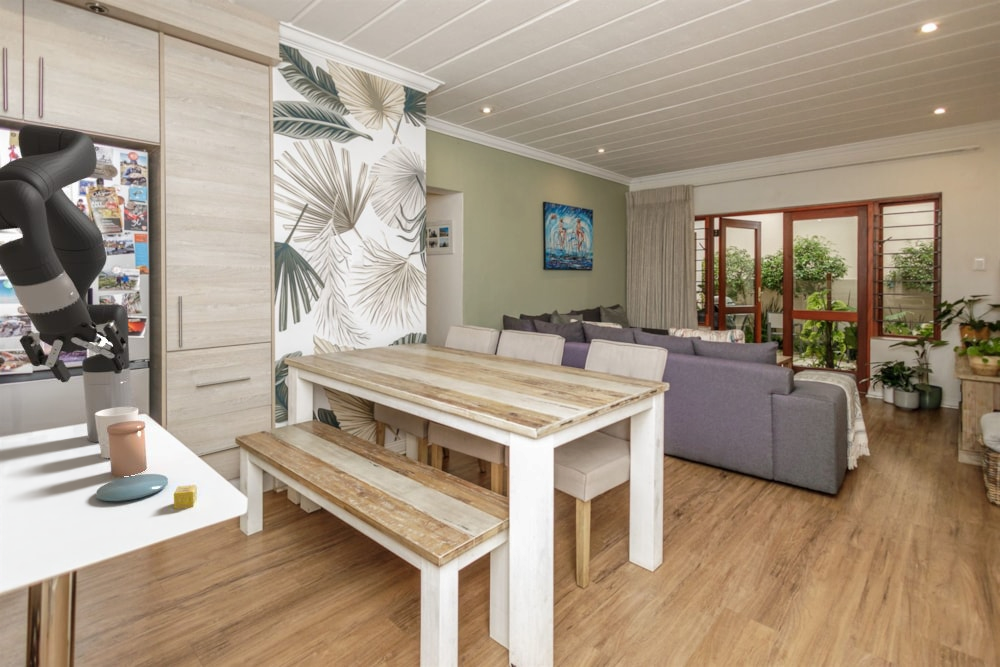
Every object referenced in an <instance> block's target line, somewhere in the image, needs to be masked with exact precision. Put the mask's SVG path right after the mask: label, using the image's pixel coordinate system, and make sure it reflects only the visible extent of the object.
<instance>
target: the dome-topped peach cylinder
mask: <svg viewBox="0 0 1000 667" xmlns="http://www.w3.org/2000/svg"><path fill="white" fill-rule="evenodd" d="M145 429H146V422H145V421H142V420H138V421H127V422H120V423H116V424H112V425H110V426H108V427H107V433H108V436H109V450H110V459H109V462H110V474H111V475H112V476H115V477H114V478H117V477H122V478H125V477H124V476H131V475H135V474H138V473H141V472H143V471H145V470H146V469H147V470H148V466H147V453H146V452H147V451H146V450H147V448H146V434H145V433H146V432H145ZM147 470H146V471H147ZM146 471H145V472H146ZM143 473H144V472H143ZM141 474H142V473H141ZM138 475H139V474H138ZM112 476H111V477H112Z"/></svg>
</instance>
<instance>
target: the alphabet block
mask: <svg viewBox="0 0 1000 667" xmlns="http://www.w3.org/2000/svg"><path fill="white" fill-rule="evenodd" d="M197 488H198V487H197V484H190V485H179V486H177V487H176V490H175V491H174V493H173V508H174V509H175V510H176V509H177V508H179V509H185V507H188V508H193V507H194V506H195V504H196V502H197V499H198V493H197V492H198V490H197ZM183 507H184V508H183ZM177 510H178V509H177Z"/></svg>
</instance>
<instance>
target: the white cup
mask: <svg viewBox="0 0 1000 667" xmlns="http://www.w3.org/2000/svg"><path fill="white" fill-rule="evenodd" d="M95 420H96V428H97V434H98V440H99V442H98V445H99V448H100V455H101V458H103V459H106V458H107V459H108V458H110V450H109V436H108V433H107V427H108V426H110V425H112V424H116V423H120V422H127V421H139V408H138V407H135V406H132V407H117V408H110V409H105V410H101V411H98V412H96V413H95Z"/></svg>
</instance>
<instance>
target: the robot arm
mask: <svg viewBox="0 0 1000 667" xmlns="http://www.w3.org/2000/svg"><path fill="white" fill-rule="evenodd" d="M17 138H18V147H19V152H20V155H21V157H19V158H16V159H14V160H11V161H9V162H8V163H5V164H4V165H3V166H2V167H0V231H2V230H12V229H13V230H14V229H19V230H20V231H21V234H22V236H21V237H20V238H17V239H14V240H10V241H7V242H5V243H3V244H1V245H0V267H1V270H3V273H4V274H5V276H6V278H7V279H8V281H9V282H10V284H11V286H12V288H13V290H14V291H13V292H14V293H15V296H16V298H17V299H18V301H19V302H18V303H19V304H20V306H22V308H23V309H24V311H25V313H26V315H27V316H28V318H29V320H30V321H31V323H32V325H33V326H34V328H35V329H36V331H37V332H34V331H32V330H26V332H25V333H23V335H22V336H21V337H20V339H19V342H20V343H19V344H20V345H21V346H22V349H23V350H24V352H25V353H26V356H27V357H28V360H29V361H30V363H31V365H32V367H33V366H34V367H39V366H45V367H46V368H47V367H48V368H49V369H50V371H51V372H52V374H53V376H54V377H55V379H57V380H58V381H60V382H62V383H67V382H69V380H70V379H71V376H72V374H71V372H70V371H69V369H68V367H67V366H66V364H65V362H64V361H63V359H60V357H61V355H62V352H63V353H66V354H72V353H74V352H86V351H88V350H89V351H91V352H93V353H95V355H91V356H89V357H86V358H83V360H82V362H81V364H82V367H81V368H82V380H83V389H84V390H83V393H84V402H85V415H86V428H87V439H88V441H90V442H94V443H95V442H97V443H99V440H98V434H97V428H96V420H95V413H96V412H98V411H101V410H105V409H110V408H117V407H133V398H132V396H133V395H132V381H131V367H130V352H129V350H130V349H129V314H128V311H127V309H126V307H125V306H124V305H122V304H111V303H110V304H106V303H105V304H104V303H103V304H99V303H98V304H89V303H88V302H87V300H86V297H87V294H88V292H89V290H90V287H91V286H92V285H93V283H94V282H95V280H97V278H98V276H99V275H100V274H101V272H102V271H103V269H104V267H105V265H106V262H107V258H108V257H107V252H106V251H107V250H106V247H105V242H104V238H103V235H102V232H101V230H100V228H99V227H98V226H97V224H96V223H95V222H94V221H93V220H92V219H91V218H90V217H89V216H88V215H87V214H86V213H85V212H84V211H83V210H81V208H79V206H78V205H76V204H75V203H74V202H73V201H72V200H71V199H70V198H69V197H68V195H67V194H66V192H65V191H64V190H63V188H66V187H68V186H70V185H73V184H74V183H78V182H79V181H82V180H85V179H87V178H89V177H92V175H94V174H93V173H94V172H96V171H95V170H96V168H97V161H98V160H97V150H96V147H95V145H94V142H93V140H92V138H91V137H90V136H88V135H87V134H86V133H84V132H82V131H79V130H74V129H69V128H59V127H53V126H52V127H51V126H43V125H35V124H34V125H31V124H28V125H27V124H26V125H24V126H22V127H21V128H20V129H19V132H18V137H17ZM41 342H43V343H44V344H47V345H49V346H51V349H50V351H49V354H48V355H47V354H45V351H44V349H43V347H42V346H41ZM95 343H97V344H95Z"/></svg>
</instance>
